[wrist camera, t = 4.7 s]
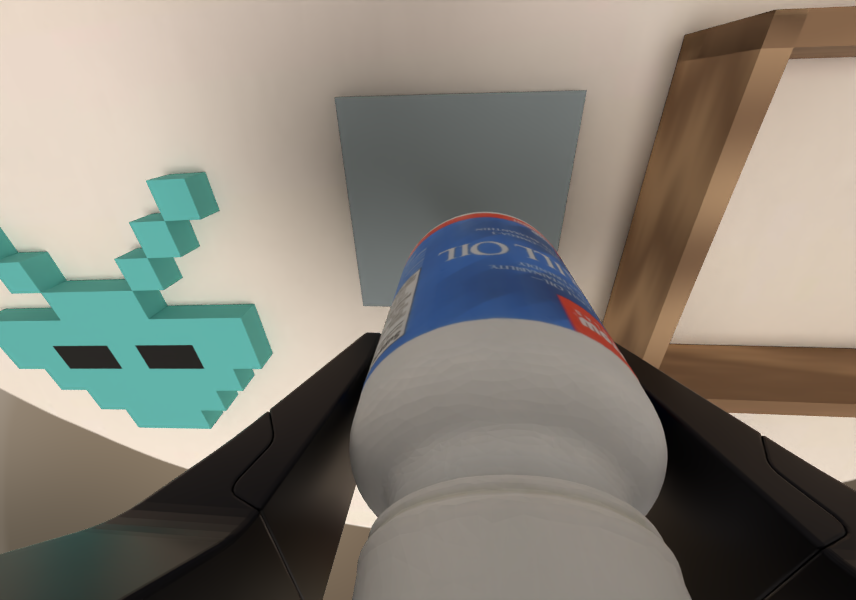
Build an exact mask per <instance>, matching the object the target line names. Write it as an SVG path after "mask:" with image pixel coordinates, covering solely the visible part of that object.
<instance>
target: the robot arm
mask: <svg viewBox="0 0 856 600" xmlns="http://www.w3.org/2000/svg"><path fill="white" fill-rule="evenodd" d="M380 337H381V334H380V333H365V334H364V335H362V336H361V337H360V338H359V339H357V340H356V341H355V342H354V343H352V344H351V345H350V346H349V347H347V348H346V349H345V350H344V351H342V352H341V353H340V354H339V355H337V356H336V357H335V358H334V359H332V360H331V361H330V362H329V363H327V364H326V365H325V366H324V367H322V368H321V369H320V370H319V371H317V372H316V373H315V374H314V375H312V376H311V377H310V378H309V379H307V380H306V381H305V382H304V383H302V384H301V385H300V386H299V387H297V388H296V389H295V390H294V391H292V392H291V393H290V394H289V395H287V396H286V397H285V398H284V399H282V400H281V401H280V402H279V403H277V404H276V405H275V406H274V407H272V408H271V409H270V412H266V413H265V414H264V415H262V416H261V417H260V418H259V419H257V420H256V421H255V422H254V423H252V424H251V425H250V426H248V427H247V428H246V429H244V430H243V431H242V432H241V433H239V434H238V435H237V436H235V437H234V438H233V439H231V440H230V441H228V442H227V443H226V444H224V445H223V446H221V447H220V448H219V449H217V450H216V451H214V452H213V453H212V454H210V455H209V456H207V457H206V458H204V459H203V460H201V461H200V462H199V463H197V464H196V465H194V466H193V467H191V468H190V469H188V470H187V471H185V472H184V473H183V474H181V475H180V476H178V477H177V478H175V479H174V480H172V481H171V482H169V483H168V484H166V485H165V486H163V487H162V488H161V489H159V490H158V491H156V492H155V493H153V494H152V495H150V496H149V497H147V498H146V499H144V500H143V501H141V502H140V503H138V504H137V505H135V506H134V507H132V508H131V509H129V510H127V511H126V512H124V513H122V514H120V515H118V516H116V517H115V518H112V519H110V520H108V521H106V522H104V523H102V524H99V525H96V526H94V527H91V528H88V529H85V530H82V531H79V532H76V533H72V534H69V535H65V536H62V537H59V538H55V539H51V540H48V541H44V542H41V543H38V544H34V545H31V546H27V547H24V548H20V549H17V550H13V551H10V552H7V553H3V554H0V600H323V596H324V593H325V589H326V586H327V582H328V579H329V575H330V572H331V569H332V565H333V562H334V558H335V555H336V552H337V548H338V545H339V541H340V537H341V534H342V531H343V528H344V524H345V521H346V517H347V514H348V510H349V507H350V504H351V500H352V497H353V493H354V490H355V486H356V482H355V480H354V477H353V474H352V469H351V464H350V456H349V442H350V432H351V427H352V423H353V419H354V416H355V413H356V409H357V406H358V403H359V400H360V396H361V392H362V389H363V386H364V383H365V380H366V377H367V374H368V372H369V369H370V365H371V363H372V360H373V357H374V354H375V351H376V348H377V345H378V343H379V340H380ZM614 343H615V344H616V346H617V348H618V349H619V351H620V352H621V354H622V355H623V356H624V358H625V360H626V362H627V363H628V365H629V366H630V367H631V369H632V371H633V372H634V374H635V375H636V377H637V378H638V380H639V382H640V385H641V386H642V388H643V390H644V391H645V393H646V395H647V396H648V398H649V400H650V401H651V403H652V404H653V406H654V408H655V411H656V413H657V415H658V417H659V419H660V421H661V424H662V427H663V430H664V435H665V439H666V445H667V468H666V474H665V478H664V483H663V485H662V488H661V490H660V493H659V496H658V498H657V499H656V501H655V503H654V504H653V506H652V508H651V509H650V511H649V512H648V513H647V515H646V516H645V517H646V518H647V519H648V520H649V521H650V522H651V523H652V524H653V525H654V527H655V528H656V529H657V531H658V532H659V534H660V535H661V537H662V538H663V541H664V543H665V544H666V545H667V546H668V547H669V549H670V550H671V551H672V552H673V554H674V556H675V558H676V559H677V561H678V563H679V566H680V569H681V572H682V575H683V579H684V583H685V586H686V588H687V590H688V592H689V594H690V597H691V599H692V600H856V491H855V490H853V489H851V488H850V487H848V486H846V485H845V484H843V483H841V482H840V481H838V480H836V479H834V478H833V477H831V476H829V475H827V474H826V473H824V472H822V471H821V470H819V469H817V468H816V467H814V466H812V465H811V464H809V463H807V462H806V461H804V460H803V459H801V458H799V457H798V456H796V455H794V454H793V453H791V452H789V451H788V450H786V449H785V448H783V447H781V446H780V445H778V444H777V443H775V442H774V441H772V440H770V439H769V438H767V437H766V436H761V434H760V433H759V432H758V431H756V430H754V429H753V428H751V427H750V426H748V425H746V424H745V423H743V422H742V421H740V420H738V419H737V418H735V417H734V416H732V415H730V414H729V413H727V412H726V411H724V410H723V409H721V408H719V407H718V406H716V405H715V404H713V403H711V402H710V401H708V400H707V399H705V398H703V397H702V396H700V395H699V394H697V393H695V392H694V391H692V390H691V389H689V388H687V387H686V386H684V385H683V384H681V383H680V382H678V381H676V380H675V379H673V378H672V377H670V376H668V375H667V374H665V373H664V372H662V371H660V370H659V369H657V368H656V367H654V366H652V365H651V364H649V363H648V362H646V361H644V360H643V359H641V358H640V357H638V356H637V355H635V354H633V353H632V352H630V351H629V350H627V349H625V348H624V347H622V346H621V345H619V344H617V343H616V342H614Z"/></svg>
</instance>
